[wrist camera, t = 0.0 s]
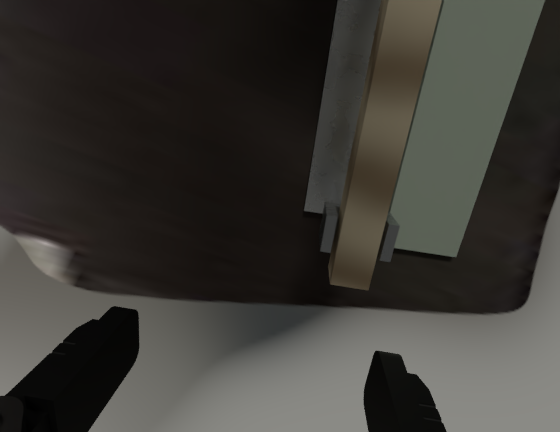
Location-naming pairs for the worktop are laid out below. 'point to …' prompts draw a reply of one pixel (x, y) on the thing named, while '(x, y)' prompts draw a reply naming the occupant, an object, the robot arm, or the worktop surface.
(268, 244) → the worktop surface
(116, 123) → the worktop surface
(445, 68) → the mat
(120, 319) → the robot arm
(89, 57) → the worktop surface
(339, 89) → the hook stand
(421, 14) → the rail
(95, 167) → the worktop surface
